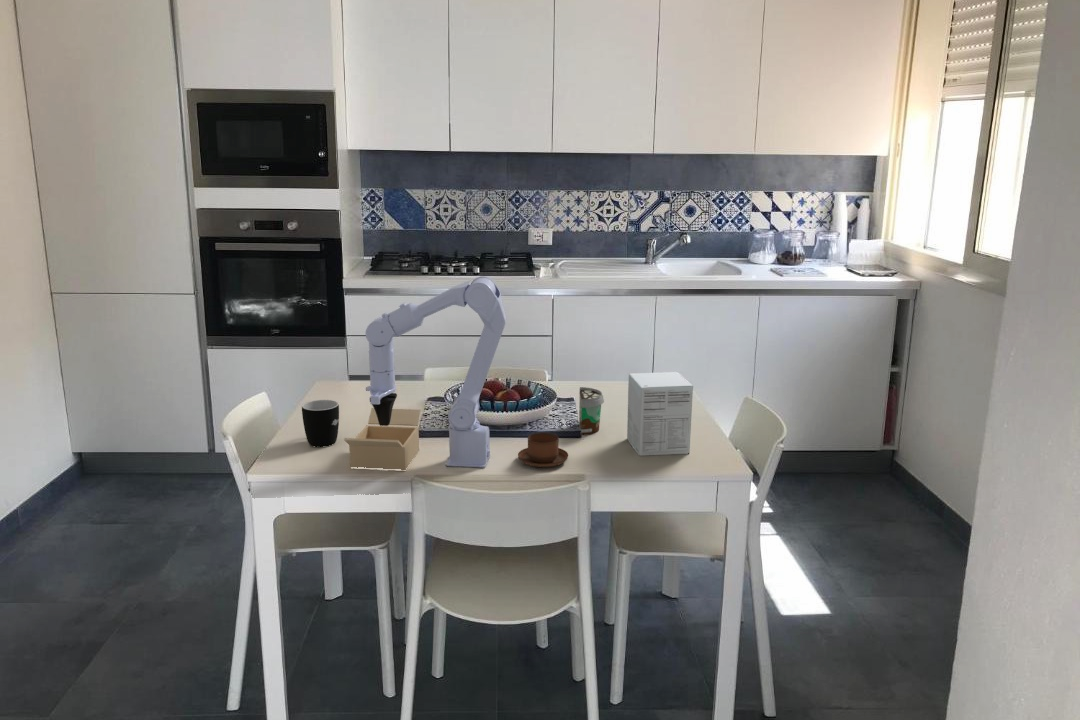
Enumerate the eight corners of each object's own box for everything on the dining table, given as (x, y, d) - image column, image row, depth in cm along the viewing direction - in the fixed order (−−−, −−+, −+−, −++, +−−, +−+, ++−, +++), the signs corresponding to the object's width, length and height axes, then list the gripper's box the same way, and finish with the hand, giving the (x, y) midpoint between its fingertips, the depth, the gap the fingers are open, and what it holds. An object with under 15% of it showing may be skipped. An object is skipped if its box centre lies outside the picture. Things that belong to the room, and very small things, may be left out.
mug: (336, 449, 222) (334, 410, 220) (300, 449, 222) (297, 410, 219) (346, 433, 234) (344, 396, 231) (311, 433, 234) (309, 396, 231)
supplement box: (691, 454, 220) (694, 385, 216) (638, 456, 218) (640, 387, 214) (675, 436, 233) (678, 371, 229) (625, 438, 231) (627, 372, 227)
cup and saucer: (507, 461, 215) (507, 437, 213) (543, 449, 223) (543, 426, 222) (542, 475, 207) (543, 450, 205) (578, 462, 215) (579, 438, 213)
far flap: (417, 424, 220) (417, 426, 221) (420, 409, 223) (420, 410, 224) (368, 423, 222) (368, 424, 222) (371, 407, 224) (372, 409, 225)
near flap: (398, 440, 202) (398, 442, 202) (402, 445, 206) (402, 447, 206) (344, 437, 203) (344, 440, 203) (349, 443, 207) (349, 445, 207)
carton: (419, 450, 222) (418, 427, 220) (405, 471, 208) (404, 446, 207) (367, 448, 223) (366, 425, 221) (350, 469, 209) (349, 444, 208)
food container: (605, 437, 232) (606, 400, 229) (581, 437, 232) (581, 400, 229) (601, 422, 244) (602, 386, 241) (578, 422, 244) (579, 386, 241)
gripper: (374, 361, 217) (376, 414, 221) (356, 377, 203) (359, 434, 207) (402, 361, 217) (404, 415, 220) (386, 378, 203) (389, 435, 206)
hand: (384, 424), depth 213 cm, fingers closed
